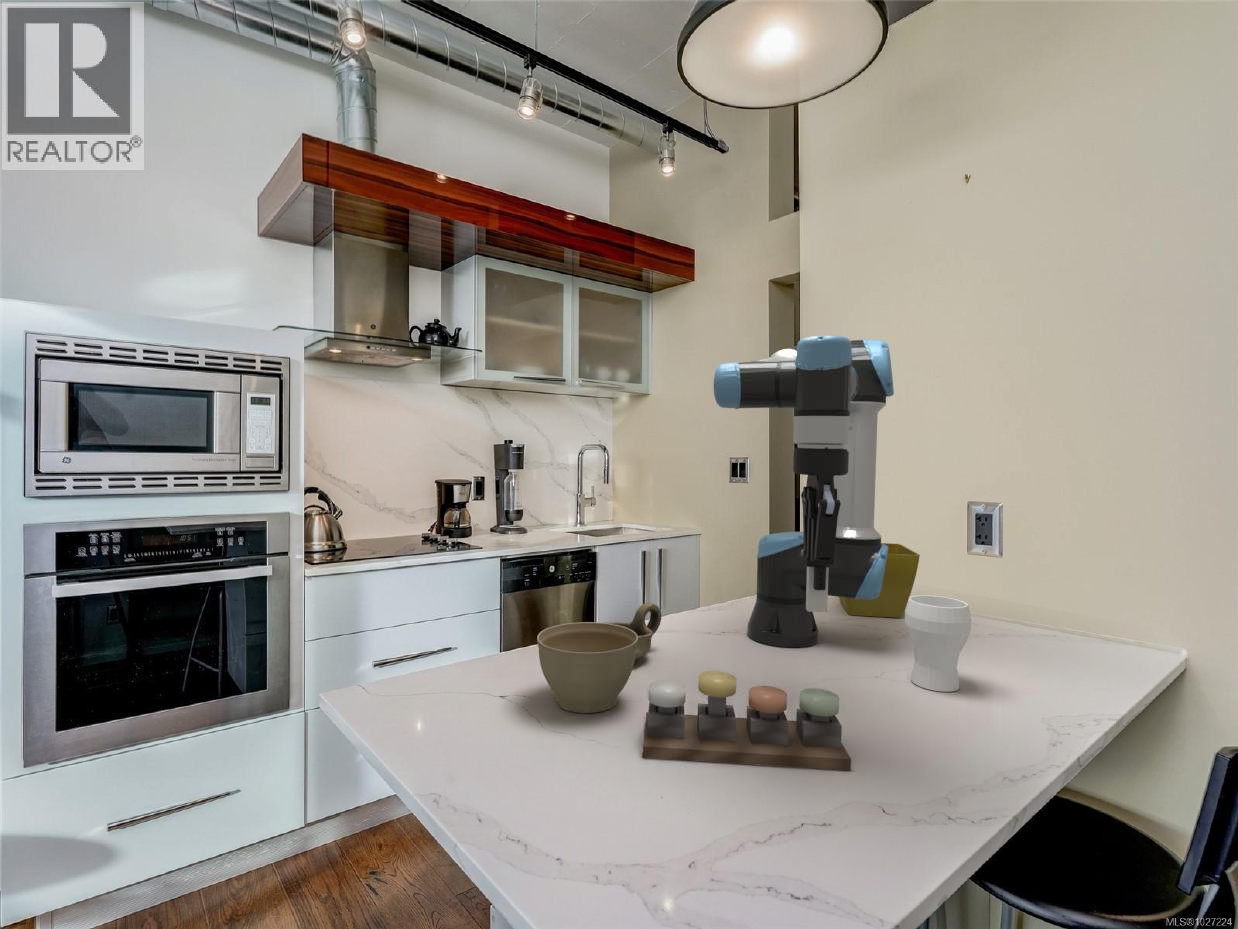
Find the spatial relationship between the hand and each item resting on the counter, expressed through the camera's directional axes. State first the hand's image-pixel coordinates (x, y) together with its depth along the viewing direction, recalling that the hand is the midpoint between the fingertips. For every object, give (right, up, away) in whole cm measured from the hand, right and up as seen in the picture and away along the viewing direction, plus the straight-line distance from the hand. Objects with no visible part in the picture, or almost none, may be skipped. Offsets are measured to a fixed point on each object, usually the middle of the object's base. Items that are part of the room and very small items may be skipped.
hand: (816, 610), depth 92 cm
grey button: (-22, -16, -2) cm, 27 cm away
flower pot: (+37, -18, +75) cm, 85 cm away
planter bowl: (-34, -18, +11) cm, 40 cm away
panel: (-11, -18, -3) cm, 22 cm away
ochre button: (-15, -14, -2) cm, 21 cm away
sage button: (-1, -16, -4) cm, 17 cm away
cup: (+28, -19, +23) cm, 41 cm away
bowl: (-27, -17, +33) cm, 47 cm away
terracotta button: (-8, -16, -3) cm, 18 cm away
